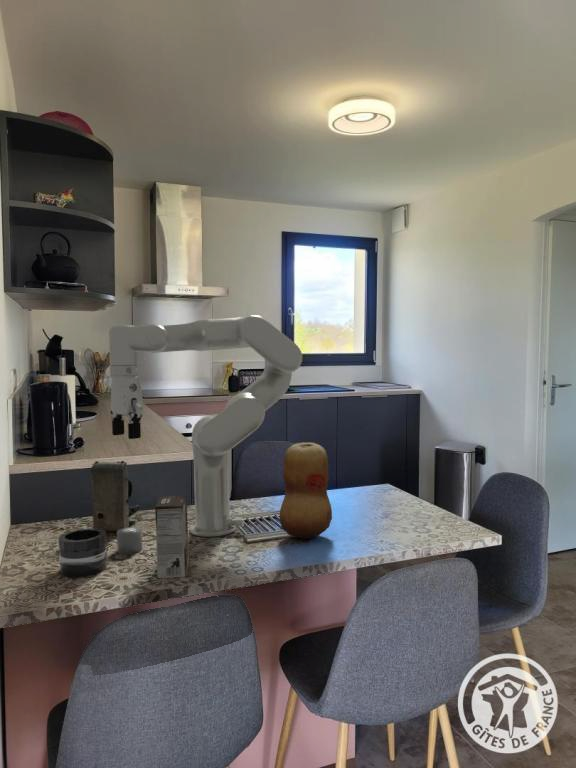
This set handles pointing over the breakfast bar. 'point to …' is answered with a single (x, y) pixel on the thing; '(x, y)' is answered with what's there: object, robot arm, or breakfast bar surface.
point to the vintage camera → (111, 496)
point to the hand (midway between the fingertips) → (126, 436)
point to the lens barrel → (82, 552)
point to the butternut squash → (305, 491)
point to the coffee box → (172, 536)
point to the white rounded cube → (129, 540)
